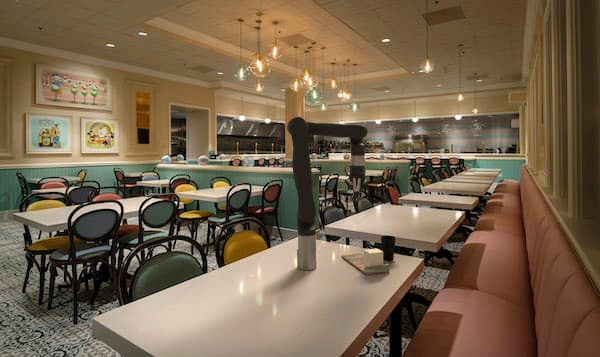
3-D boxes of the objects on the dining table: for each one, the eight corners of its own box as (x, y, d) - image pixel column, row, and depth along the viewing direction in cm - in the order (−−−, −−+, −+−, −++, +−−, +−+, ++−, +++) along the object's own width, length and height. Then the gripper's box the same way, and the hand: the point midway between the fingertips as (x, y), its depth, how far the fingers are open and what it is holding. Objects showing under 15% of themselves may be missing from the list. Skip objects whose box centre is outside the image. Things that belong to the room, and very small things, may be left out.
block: (364, 267, 171) (364, 249, 170) (376, 266, 173) (376, 248, 172) (370, 271, 165) (370, 253, 165) (383, 270, 167) (383, 251, 167)
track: (341, 257, 191) (341, 250, 191) (361, 255, 194) (361, 248, 194) (366, 275, 163) (366, 267, 163) (389, 272, 167) (389, 264, 166)
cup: (397, 261, 183) (397, 239, 182) (382, 261, 183) (382, 239, 182) (393, 256, 190) (393, 235, 189) (379, 257, 191) (379, 235, 189)
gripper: (343, 164, 174) (342, 198, 176) (370, 165, 172) (369, 200, 173) (344, 164, 182) (343, 197, 183) (370, 164, 179) (369, 198, 180)
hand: (356, 198), depth 178 cm, fingers closed
